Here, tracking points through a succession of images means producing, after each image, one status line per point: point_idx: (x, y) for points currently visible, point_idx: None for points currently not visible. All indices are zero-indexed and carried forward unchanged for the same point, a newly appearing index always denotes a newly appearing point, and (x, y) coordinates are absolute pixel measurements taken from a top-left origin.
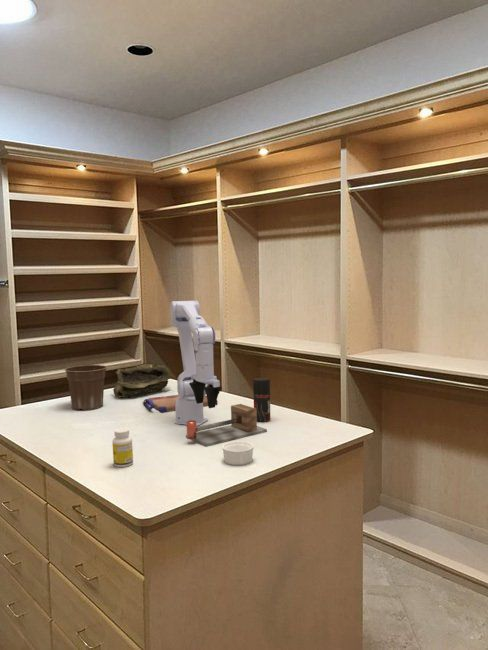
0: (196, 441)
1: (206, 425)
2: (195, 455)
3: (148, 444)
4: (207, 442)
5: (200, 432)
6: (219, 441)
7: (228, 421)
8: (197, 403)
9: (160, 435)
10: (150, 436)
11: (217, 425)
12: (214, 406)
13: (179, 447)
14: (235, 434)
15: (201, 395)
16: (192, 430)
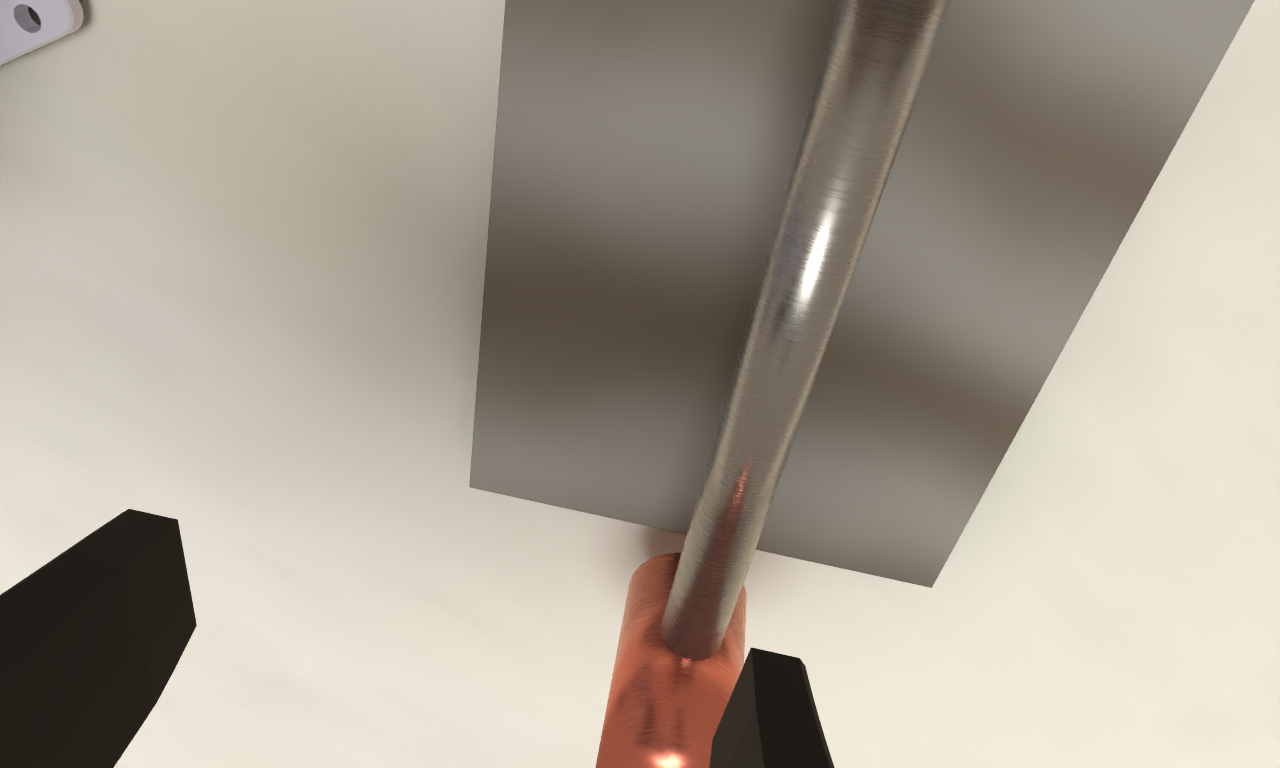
0: None
1: (744, 537)
2: (1003, 741)
3: (414, 724)
4: (910, 543)
5: (509, 322)
6: (1014, 430)
7: (907, 114)
8: (191, 630)
9: (220, 541)
10: (195, 600)
11: (820, 355)
12: (802, 696)
13: None
14: (1081, 65)
15: (29, 718)
16: None
